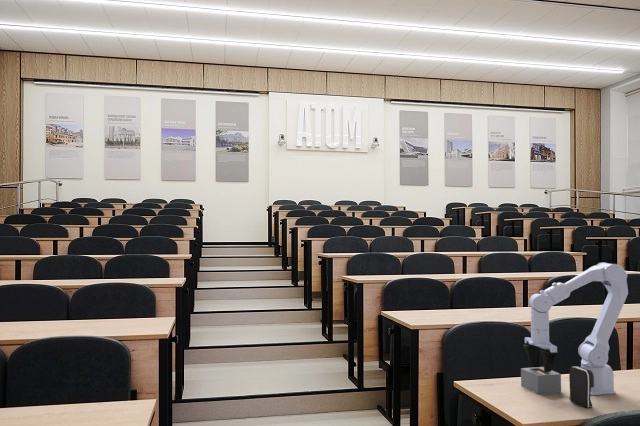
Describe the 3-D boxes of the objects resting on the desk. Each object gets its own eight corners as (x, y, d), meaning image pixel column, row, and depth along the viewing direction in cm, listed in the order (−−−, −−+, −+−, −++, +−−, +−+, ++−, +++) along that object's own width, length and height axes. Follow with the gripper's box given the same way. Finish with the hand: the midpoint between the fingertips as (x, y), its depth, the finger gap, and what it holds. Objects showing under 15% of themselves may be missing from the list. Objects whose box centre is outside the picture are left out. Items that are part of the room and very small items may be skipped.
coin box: (543, 383, 174) (543, 366, 174) (561, 392, 165) (560, 374, 165) (521, 385, 172) (520, 368, 172) (537, 393, 163) (537, 375, 163)
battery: (596, 407, 150) (595, 370, 151) (586, 408, 149) (586, 371, 150) (578, 400, 157) (577, 364, 158) (568, 401, 156) (568, 365, 156)
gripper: (516, 325, 175) (517, 363, 175) (543, 333, 161) (544, 375, 161) (534, 324, 177) (534, 362, 176) (562, 332, 163) (562, 374, 162)
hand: (540, 368), depth 168 cm, fingers open, 7 cm apart
